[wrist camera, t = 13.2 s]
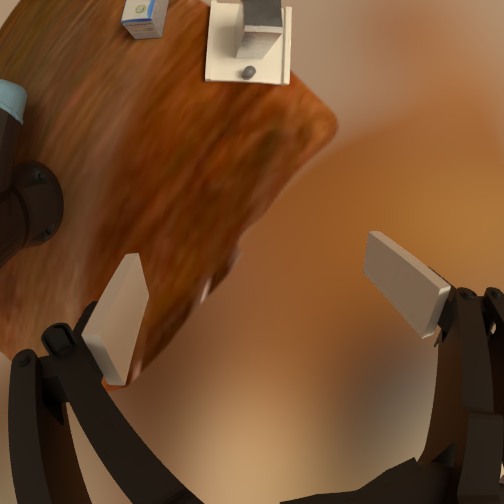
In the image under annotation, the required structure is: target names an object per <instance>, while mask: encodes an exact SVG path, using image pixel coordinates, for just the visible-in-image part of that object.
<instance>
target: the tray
mask: <svg viewBox="0 0 504 504" xmlns="http://www.w3.org/2000/svg"><path fill="white" fill-rule="evenodd" d="M239 5H240V4H228V3H217V1H212V3H211V12H210V22H209V32H208V44H207V57H206V72H205V82H246V83H261V84H273V85H282V86H286V85H288V84H289V78H290V51H291V11H292V7H286V8H285V9H282V8H281V9H282V24H283V27H282V34H281V35H280V37H279V38H278V39H277V41H276V42H275V43H274V44H273V46H272V47H271V48H270V50H269V51H268V52H267V54H266V55H265V56H264V58H263V59H235V28H234V25H235V21H236V17H237V13H238V9H239Z"/></svg>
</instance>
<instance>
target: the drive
mask: <svg viewBox="0 0 504 504" xmlns="http://www.w3.org/2000/svg"><path fill="white" fill-rule="evenodd" d="M282 27H283V24H282V9H281V0H241V2H240V5H239V9H238V13H237V17H236V21H235V25H234V28H235V59H263V58H264V56H265V55H266V54H267V52H268V51H269V50H270V48H271V47H272V46H273V44H274V43H275V42H276V41H277V39H278V38H279V37H280V35H281V34H282Z"/></svg>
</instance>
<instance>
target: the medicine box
mask: <svg viewBox="0 0 504 504" xmlns="http://www.w3.org/2000/svg"><path fill="white" fill-rule="evenodd" d="M168 2H169V0H126V2H125V6H124V10H123V14H122V18H121V23H122V24H123V26H124V27H125V28H126V29H127V30H128V31H129V32H130V34H131V35H132V36H133V37H134V38H135V39H145V38H161V37H162V34H163V28H164V22H165V17H166V12H167V7H168Z"/></svg>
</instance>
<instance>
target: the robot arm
mask: <svg viewBox="0 0 504 504" xmlns="http://www.w3.org/2000/svg"><path fill="white" fill-rule="evenodd" d="M26 101H27V94H26V91H25V89H24V88H23V87H21V86H20V85H17V84H15V83H12V82H9V81H6V80H2V79H0V268H1V267H2V266H3V265H4V264H5V263H6V262H7V261H8V260H9V259H11V258H12V257H13V256H14V255H15V254H16V253H17V252H18V251H20V250H21V249H23V248H28V247H33V246H38V245H41V244H43V243H45V242H46V241H47V240H48V239H50V238H51V237H52V236H53V235H54V234H55V233H56V231H57V230H58V228H59V226H60V224H61V220H62V216H63V196H62V192H61V188H60V185H59V183H58V181H57V179H56V177H55V175H54V174H53V173H52V171H51V170H50V169H49V168H48V167H46V166H45V165H43V164H42V163H39V162H35V161H29V162H25V163H22V164H19V165H17V166H15V167H14V162H15V155H16V149H17V144H18V139H19V134H20V129H21V126H22V125H23V114H24V110H25V105H26ZM363 273H364V274H365V275H366V276H367V277H368V278H369V279H370V280H371V282H372V283H373V284H374V285H375V286H376V287H377V288H378V289H379V290H380V291H381V292H382V293H383V294H384V296H385V297H386V298H387V299H388V300H389V301H390V302H391V303H392V304H393V306H394V307H395V308H396V309H397V310H398V311H399V312H400V313H401V314H402V316H403V317H404V318H405V319H406V320H407V321H408V322H409V324H410V325H411V326H412V327H413V328H414V329H415V331H416V332H417V333H418V334H419V335H420V337H421V338H425V337H428V336H431V335H433V334H434V331H435V329H436V326H437V324H438V325H439V326H440V328H441V330H440V333H439V335H438V337H437V340H436V342H435V344H434V347H436V345H437V344H438V343H439V345H438V364H437V376H436V386H435V394H434V402H433V408H432V415H431V420H430V427H429V431H428V436H427V441H426V445H425V448H424V451H423V453H422V455H421V456H420V458H419V460H418V462H417V461H416V460H415V458H414V457H413V458H411V459H409V460H407V461H405V462H403V463H401V464H399V465H397V466H395V467H393V468H390V469H388V470H386V471H385V472H383V473H382V474H381V475H379V476H378V477H377V478H375V479H374V480H372V481H371V482H369V483H368V484H366V485H365V486H363V487H362V488H360V489H358V490H356V491H350V492H341V493H328V494H316V495H312V496H308V497H303V498H299V499H294V500H290V501H284V502H280V504H504V475H503V476H502V477H501V479H500V474H501V464H502V463H503V467H504V294H503V293H502V292H501V291H500V290H499V289H497V288H493V287H489V288H487V289H486V291H485V294H484V296H477V294H475V292H474V291H472V290H470V289H467V288H463V287H460V288H457V289H456V288H455V287H454V286H452V285H451V284H450V283H449V282H448V281H446V280H445V279H444V278H443V277H441V276H440V275H439V274H438V273H436V272H435V271H434V270H433V269H431V268H430V267H428V266H426V265H424V264H423V263H422V262H421V261H419V260H418V259H416V258H415V257H414V256H413V255H411V254H410V253H409V252H407V251H406V250H405V249H403V248H402V247H401V246H399V245H398V244H396V243H395V242H394V241H392V240H391V239H390V238H388V237H386V236H385V235H384V234H382V233H381V232H380V231H373V232H372V231H371V232H368V240H367V247H366V255H365V261H364V268H363ZM148 298H149V294H148V290H147V286H146V282H145V278H144V274H143V270H142V266H141V262H140V257H139V253H134V254H126V255H125V256H124V258H123V260H122V261H121V263H120V265H119V266H118V268H117V270H116V271H115V273H114V275H113V276H112V278H111V280H110V282H109V283H108V285H107V287H106V289H105V291H104V292H103V294H102V296H101V298H100V300H99V301H93V302H91V303H90V304H89V305H88V306H87V307H86V308H85V310H84V311H83V313H82V316H81V317H80V319H79V320H78V322H77V324H76V326H75V328H74V330H73V332H72V330H71V328H70V326H69V325H68V324H66V323H56V324H53V325H51V326H50V327H48V328H47V329H46V330H45V331H44V332H43V334H42V336H41V341H42V343H43V345H44V346H45V348H46V350H47V352H48V353H49V355H48V356H44V357H39V358H38V357H37V355H36V353H35V352H34V351H33V350H31V349H25V350H22V351H20V352H19V353H17V354H16V356H15V357H14V358H13V361H12V364H11V374H10V386H9V404H8V405H9V406H8V432H9V450H10V461H11V468H12V476H13V483H14V488H15V493H16V498H17V503H18V504H92V502H91V500H90V497H89V495H88V492H87V489H86V486H85V483H84V480H83V477H82V473H81V470H80V467H79V464H78V460H77V456H76V452H75V448H74V444H73V439H72V435H71V430H70V425H69V420H68V414H67V409H66V402H69V403H70V405H71V407H72V409H73V411H74V413H75V415H76V417H77V419H78V421H79V423H80V425H81V427H82V429H83V431H84V432H85V434H86V436H87V438H88V439H89V441H90V443H91V445H92V446H93V448H94V450H95V451H96V453H97V455H98V456H99V458H100V459H101V461H102V462H103V464H104V465H105V467H106V468H107V470H108V471H109V473H110V474H111V476H112V477H113V479H114V480H115V481H116V483H117V484H118V485H119V487H120V488H121V489H122V491H123V492H124V493H125V495H126V496H127V497H128V498H129V499H130V501H131V502H132V503H133V504H204V503H203V502H202V501H201V500H199V499H198V498H197V497H196V496H195V495H194V494H193V493H192V492H191V491H189V490H188V489H187V488H186V487H185V486H184V485H183V484H182V483H181V482H180V481H179V480H178V479H177V478H176V477H175V476H174V475H173V474H172V473H171V472H170V471H169V470H168V469H167V468H166V467H165V466H164V465H163V464H162V462H161V461H160V460H159V459H157V457H156V456H155V455H154V454H153V452H152V451H151V450H150V449H149V448H148V447H147V445H146V444H145V443H144V442H143V441H142V439H141V438H140V437H139V436H138V434H137V433H136V432H135V431H134V430H133V428H132V427H131V426H130V424H129V423H128V422H127V420H126V419H125V418H124V416H123V415H122V413H121V412H120V411H119V409H118V408H117V407H116V405H115V404H114V402H113V401H112V399H111V398H110V396H109V395H108V393H107V392H106V390H105V389H104V387H103V385H102V384H101V381H102V378H103V376H104V378H105V380H106V381H107V383H108V385H125V383H126V378H127V374H128V370H129V366H130V362H131V358H132V354H133V350H134V346H135V343H136V339H137V335H138V332H139V328H140V325H141V321H142V318H143V314H144V311H145V308H146V304H147V301H148ZM494 324H496V330H495V332H494V334H492V332H491V330H492V328H493V326H494ZM499 481H500V483H499Z"/></svg>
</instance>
